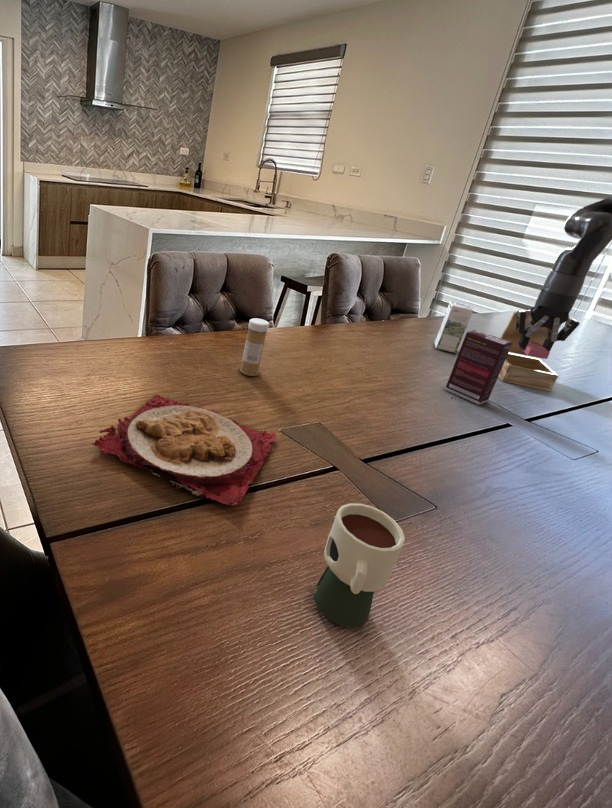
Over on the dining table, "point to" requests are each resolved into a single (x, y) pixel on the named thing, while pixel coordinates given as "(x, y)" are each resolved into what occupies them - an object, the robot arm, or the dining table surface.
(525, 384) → the box
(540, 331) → the box lid
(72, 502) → the dining table surface
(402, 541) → the character mug
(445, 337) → the syrup box
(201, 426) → the plate with food
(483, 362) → the supplement box
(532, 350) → the pink rectangular block
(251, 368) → the sprinkles bottle
